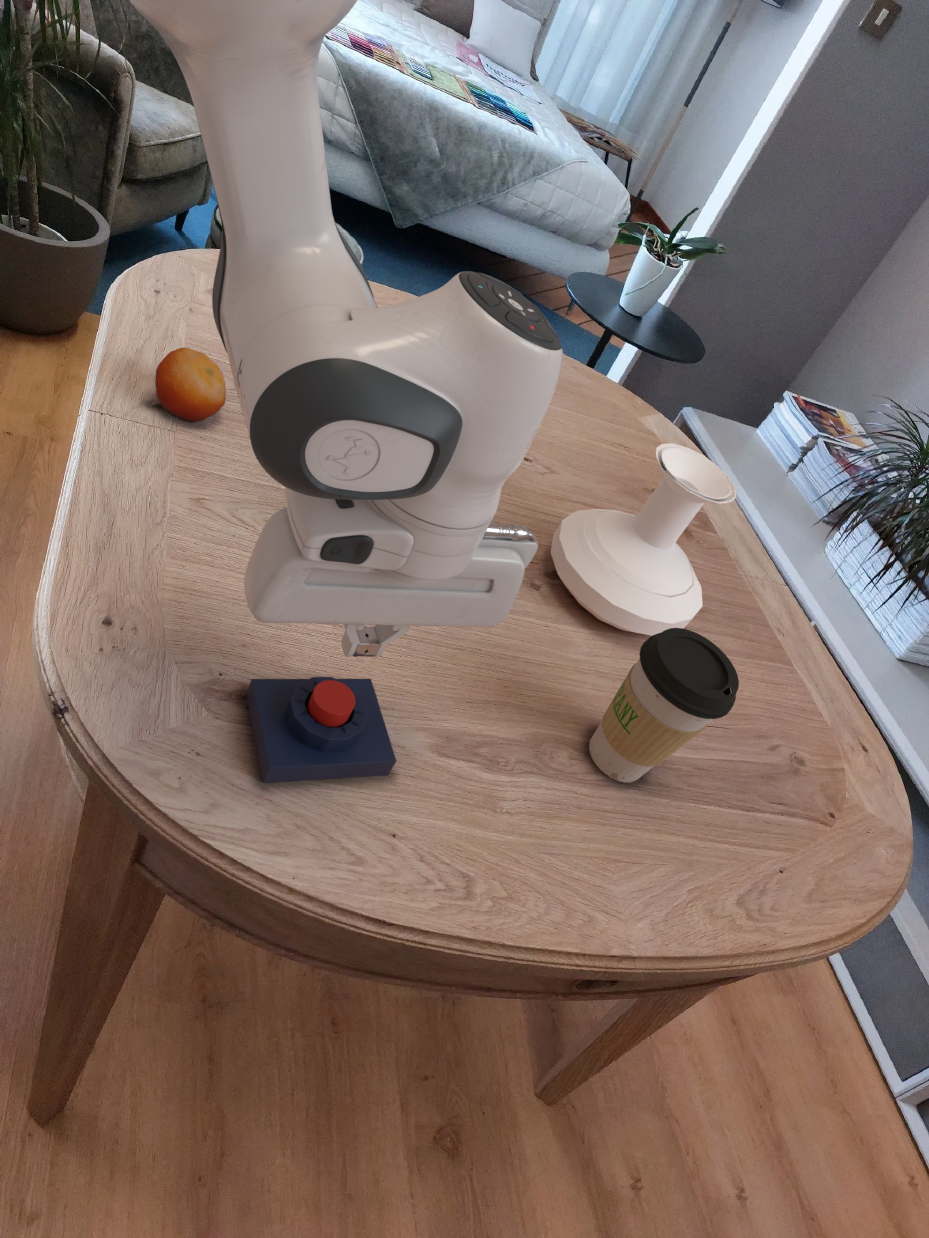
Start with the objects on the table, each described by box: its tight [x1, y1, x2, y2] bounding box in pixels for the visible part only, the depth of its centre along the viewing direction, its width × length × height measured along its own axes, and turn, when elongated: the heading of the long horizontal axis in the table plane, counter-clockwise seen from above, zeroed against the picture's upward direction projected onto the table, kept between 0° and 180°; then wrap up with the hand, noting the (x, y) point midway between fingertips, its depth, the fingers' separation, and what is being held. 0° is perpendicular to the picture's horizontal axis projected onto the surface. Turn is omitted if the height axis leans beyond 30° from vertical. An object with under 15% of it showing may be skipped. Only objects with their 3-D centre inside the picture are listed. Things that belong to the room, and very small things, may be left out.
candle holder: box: [550, 442, 738, 637], centre depth 100 cm, size 20×20×19 cm
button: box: [308, 680, 355, 727], centre depth 70 cm, size 4×4×2 cm
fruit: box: [150, 347, 227, 423], centre depth 95 cm, size 8×8×8 cm
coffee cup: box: [588, 628, 740, 783], centre depth 81 cm, size 10×10×15 cm
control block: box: [245, 676, 397, 784], centre depth 71 cm, size 11×9×4 cm
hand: (360, 650), depth 66 cm, fingers closed
